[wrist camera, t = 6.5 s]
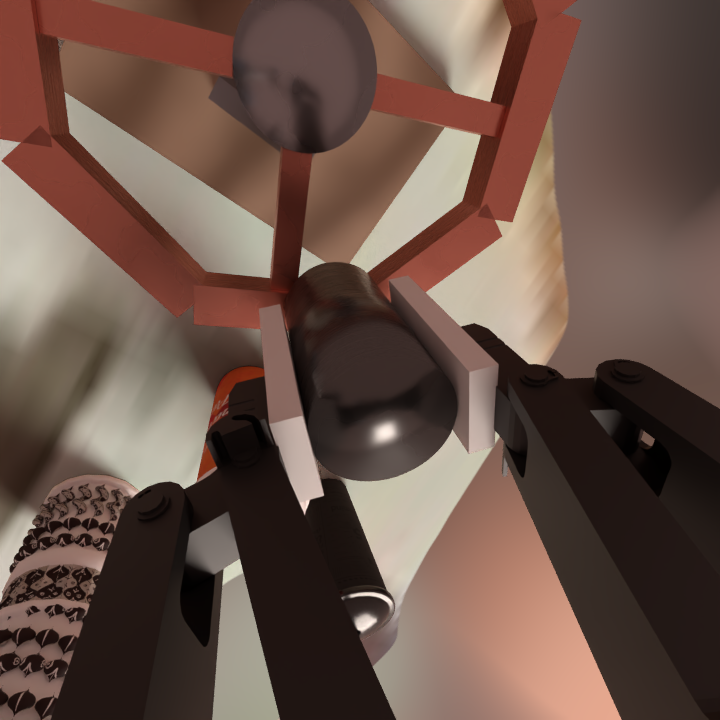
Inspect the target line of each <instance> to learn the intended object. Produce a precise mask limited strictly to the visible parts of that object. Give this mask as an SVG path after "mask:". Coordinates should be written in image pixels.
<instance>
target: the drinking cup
mask: <svg viewBox="0 0 720 720" xmlns="http://www.w3.org/2000/svg"><path fill="white" fill-rule="evenodd" d="M321 484H322V488H323V493H324V496H321V497H318V498H314V499H311V500H310V501H309V504H308V507H307V509H306V512H305V517H306V519H307V521H308V523H309V525H310V528H311V530H312V532H313V534H314V537H315V539H316V541H317V543H318V546H319V548H320V550H321V552H322V555H323V557H324V559H325V561H326V564H327V566H328V568H329V570H330V573H331V575H332V577H333V579H334V582H335V584H336V586H337V588H338V591H339V593H340V595H341V597H342V600H343V602H344V604H345V606H346V608H347V611H348V613H349V615H350V617H351V620H352V622H353V624H354V626H355V629H356V631H357V633H358V635H359V638H360V640H363V639H365V638H367V637H369V636H371V635H372V634H374V633H376V632H377V631H379V630H380V629H381V628H383V627H384V626H385V625H386V624H387V623H388V622H389V621H390V619H391V618H392V616H393V614H394V611H395V603H394V599H393V597H392V595H391V594H390V593H389V592H388V591H387V590H386V587H385V584H384V582H383V579H382V577H381V574H380V572H379V569H378V567H377V564H376V562H375V559H374V557H373V554H372V552H371V549H370V547H369V544H368V542H367V539H366V536H365V534H364V531H363V529H362V526H361V524H360V521H359V519H358V516H357V514H356V511H355V509H354V506H353V504H352V501H351V499H350V496H349V494H348V491H347V488H346V486H345V485H344V484H343V483H342V482H340V481H338V480H335V479H324V480H321Z"/></svg>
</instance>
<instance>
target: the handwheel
mask: <svg viewBox="0 0 720 720" xmlns="http://www.w3.org/2000/svg"><path fill="white" fill-rule="evenodd" d="M576 1H577V0H503V3H504V6H505V9H506V12H507V15H508V18H509V21H510V24H511V31H510V34H509V38H508V41H507V45H506V49H505V52H504V56H503V59H502V63H501V66H500V70H499V73H498V77H497V81H496V84H495V88H494V91H493V95H492V98H491V102H488V101H484V100H480V99H476V98H472V97H468V96H464V95H460V94H456V93H452V92H448V91H444V90H440V89H437V88H433V87H429V86H425V85H421V84H417V83H413V82H409V81H405V80H401V79H397V78H393V77H389V76H386V75H382V74H378V73H377V61H376V54H375V49H374V45H373V42H372V39H371V35H370V33H369V31H368V28H367V26H366V24H365V22H364V21H363V19H362V17H361V15H360V14H359V12H358V11H357V10H356V8H355V7H354V6H353V5H352V4H351V3H350V2H349V0H252V1H251V2H250V4H249V5H248V7H247V8H246V10H245V11H244V13H243V15H242V17H241V19H240V21H239V24H238V27H237V30H236V33H235V38H234V37H233V36H229V35H225V34H221V33H217V32H213V31H209V30H205V29H201V28H197V27H193V26H189V25H186V24H182V23H178V22H174V21H170V20H166V19H162V18H158V17H154V16H150V15H146V14H142V13H138V12H135V11H131V10H127V9H123V8H119V7H115V6H111V5H107V4H103V3H99V2H95V1H91V0H0V139H3V140H9V141H15V142H21V143H20V144H19V145H18V146H17V147H16V148H15V149H14V150H13V151H11V152H10V153H9V154H8V155H7V156H6V157H5V158H4V159H3V160H2V162H3V163H4V164H6V165H7V166H8V167H9V168H10V169H11V170H12V171H13V172H14V173H16V174H17V175H18V176H19V177H20V178H21V179H22V180H23V181H25V182H26V183H27V184H28V185H29V186H30V187H31V188H32V189H33V190H35V191H36V192H37V193H38V194H39V195H40V196H41V197H42V198H44V199H45V200H46V201H47V202H48V203H49V204H50V205H51V206H53V207H54V208H55V209H56V210H57V211H58V212H59V213H60V214H61V215H63V216H64V217H65V218H66V219H67V220H68V221H69V222H70V223H72V224H73V225H74V226H75V227H76V228H77V229H78V230H79V231H81V232H82V233H83V234H84V235H85V236H86V237H87V238H88V239H89V240H91V241H92V242H93V243H94V244H95V245H96V246H97V247H98V248H100V249H101V250H102V251H103V252H104V253H105V254H106V255H107V256H109V257H110V258H111V259H112V260H113V261H114V262H115V263H116V264H117V265H119V266H120V267H121V268H122V269H123V270H124V271H125V272H126V273H128V274H129V275H130V276H131V277H132V278H133V279H134V280H135V281H136V282H138V283H139V284H140V285H141V286H142V287H143V288H144V289H145V290H147V291H148V292H149V293H150V294H151V295H152V296H153V297H154V298H156V299H157V300H158V301H159V302H160V303H161V304H162V305H163V306H164V307H166V308H167V309H168V310H169V311H170V312H171V313H172V314H173V315H175V316H176V317H179V316H180V315H181V314H182V313H184V312H185V311H186V310H187V309H189V308H190V307H191V306H192V305H194V325H207V326H223V327H238V328H254V329H261V327H260V316H259V309H260V308H265V307H269V306H273V305H278V304H280V306H281V310H282V314H283V318H284V322H285V325H286V329H287V331H288V334H289V339H290V344H291V349H292V355H293V360H294V365H295V370H296V375H297V380H298V385H299V390H300V395H301V400H302V405H303V410H304V415H305V420H306V425H307V429H308V434H309V438H310V442H311V446H312V449H313V453H314V455H315V457H316V458H317V460H318V461H319V462H320V463H321V464H322V465H323V466H324V467H325V468H326V469H328V470H329V471H330V472H332V473H334V474H336V475H338V476H341V477H343V478H347V479H351V480H357V481H378V480H384V479H389V478H393V477H396V476H399V475H402V474H404V473H407V472H409V471H411V470H413V469H415V468H416V467H418V466H420V465H421V464H423V463H424V462H426V461H427V460H428V459H429V458H431V457H432V456H433V455H434V454H435V453H436V452H437V451H438V450H439V449H440V448H441V447H442V445H443V444H444V443H445V441H446V440H447V438H448V437H449V435H450V433H451V431H452V429H453V427H454V424H455V421H456V417H457V410H458V403H457V396H456V392H455V390H454V387H453V385H452V384H451V382H450V380H449V379H448V377H447V376H446V375H445V374H444V372H443V371H442V370H441V368H440V367H439V366H438V364H437V363H436V362H435V360H434V359H433V358H432V356H431V355H430V354H429V352H428V351H427V350H426V348H425V347H424V346H423V345H422V343H421V342H420V341H419V339H418V338H417V337H416V335H415V334H414V333H413V331H412V330H411V329H410V327H409V326H408V325H407V323H406V322H405V321H404V319H403V318H402V317H401V316H400V314H399V313H398V312H397V310H396V309H395V308H394V306H393V305H392V304H391V298H390V288H389V280H390V279H394V278H399V277H403V276H409V277H410V278H411V279H412V280H413V281H414V282H415V283H416V284H417V285H418V286H419V287H420V288H421V289H422V290H423V291H424V292H427V291H428V290H429V289H431V288H432V287H433V286H435V285H436V284H437V283H439V282H440V281H442V280H443V279H444V278H446V277H447V276H448V275H450V274H451V273H453V272H454V271H455V270H457V269H458V268H459V267H461V266H462V265H463V264H465V263H466V262H468V261H469V260H470V259H472V258H473V257H474V256H476V255H477V254H479V253H480V252H481V251H483V250H484V249H485V248H487V247H488V246H489V245H491V244H492V243H494V242H495V241H496V240H498V239H499V238H500V237H502V235H501V232H500V230H499V228H498V226H497V224H496V222H495V220H501V221H507V222H513V219H514V216H515V213H516V210H517V207H518V204H519V201H520V198H521V195H522V192H523V190H524V187H525V184H526V181H527V178H528V175H529V172H530V169H531V166H532V163H533V160H534V157H535V154H536V152H537V149H538V146H539V143H540V140H541V137H542V134H543V131H544V128H545V125H546V122H547V119H548V116H549V114H550V111H551V108H552V105H553V102H554V99H555V96H556V93H557V90H558V87H559V84H560V81H561V78H562V75H563V73H564V70H565V67H566V64H567V61H568V58H569V55H570V52H571V49H572V46H573V43H574V40H575V38H576V35H577V32H578V28H579V26H580V22H581V20H579V19H576V18H574V17H571V16H568V15H565V14H562V12H563V11H564V10H565V9H567V8H568V7H569V6H571V5H572V4H573V3H574V2H576ZM58 39H59V40H64V41H68V42H72V43H77V44H81V45H86V46H90V47H95V48H99V49H103V50H108V51H112V52H117V53H121V54H125V55H130V56H134V57H139V58H143V59H147V60H152V61H156V62H161V63H165V64H169V65H174V66H178V67H183V68H187V69H191V70H196V71H200V72H205V73H209V74H213V75H218V76H222V77H227V78H231V79H233V74H234V80H235V84H236V88H237V92H238V94H239V97H240V100H241V102H242V104H243V106H244V108H245V110H246V112H247V114H248V115H249V117H250V118H251V120H252V121H253V122H254V124H255V125H256V126H257V127H258V129H259V130H260V131H261V132H262V133H263V134H264V135H266V136H267V137H268V138H269V139H271V140H272V141H273V142H275V143H276V144H278V145H280V146H282V147H281V152H280V164H279V176H278V188H277V200H276V212H275V224H274V236H273V248H272V260H271V272H270V278H262V277H252V276H242V275H232V274H222V273H211V272H206V271H205V270H204V269H203V268H202V267H201V266H200V265H199V264H198V263H197V262H196V261H195V260H194V259H193V258H192V257H191V256H190V255H189V254H188V253H187V252H186V251H185V250H184V249H183V248H182V247H181V246H180V245H179V244H178V243H177V242H176V241H175V240H174V239H173V238H172V237H171V236H170V235H169V234H168V233H167V232H166V231H165V230H164V229H163V228H162V227H161V226H160V225H159V223H158V222H157V221H156V220H155V219H154V218H153V217H152V216H151V215H150V214H149V213H148V212H147V211H146V210H145V209H144V208H143V207H142V206H141V205H140V204H139V203H138V202H137V201H136V200H135V199H134V198H133V197H132V196H131V195H130V194H129V193H128V192H127V191H126V190H125V189H124V188H123V187H122V186H121V185H120V184H119V183H118V182H117V181H116V180H115V179H114V178H113V177H112V176H111V175H110V174H109V173H108V172H107V171H106V170H105V169H104V168H103V167H102V166H101V165H100V164H99V163H98V162H97V161H96V160H95V158H94V157H93V156H92V155H91V154H90V153H89V152H88V151H87V150H86V149H85V148H84V147H83V146H82V145H81V144H80V143H79V142H78V141H77V140H76V139H75V138H74V137H73V136H72V135H71V134H70V133H69V125H68V117H67V109H66V102H65V94H64V86H63V78H62V70H61V62H60V54H59V47H58ZM370 110H372V111H376V112H381V113H385V114H389V115H394V116H398V117H403V118H407V119H411V120H416V121H420V122H425V123H429V124H433V125H438V126H442V127H447V128H451V129H456V130H460V131H464V132H469V133H473V134H478V135H481V137H480V141H479V145H478V148H477V152H476V155H475V159H474V162H473V166H472V169H471V173H470V176H469V180H468V184H467V187H466V191H465V194H464V198H463V201H462V202H461V203H459V204H458V205H457V206H455V207H454V208H453V209H451V210H450V211H449V212H447V213H446V214H445V215H443V216H442V217H441V218H440V219H438V220H437V221H436V222H434V223H433V224H432V225H430V226H429V227H428V228H426V229H425V230H424V231H422V232H421V233H420V234H418V235H417V236H416V237H414V238H413V239H412V240H410V241H409V242H408V243H406V244H405V245H404V246H402V247H401V248H400V249H398V250H397V251H396V252H394V253H393V254H392V255H390V256H389V257H388V258H386V259H385V260H384V261H382V262H381V263H380V264H378V265H377V266H376V267H375V268H373V269H372V270H371V271H369V272H368V273H366V272H365V271H364V270H362V269H361V268H359V267H357V266H355V265H352V264H349V263H343V262H329V263H324V264H320V265H318V266H315V267H313V268H311V269H309V270H308V271H306V272H305V273H303V274H302V275H301V276H300V277H299V278H298V275H299V266H300V257H301V249H302V240H303V232H304V223H305V214H306V206H307V197H308V188H309V180H310V171H311V163H312V153H322V152H326V151H329V150H332V149H335V148H337V147H338V146H340V145H342V144H343V143H345V142H346V141H348V140H349V139H350V138H351V137H352V136H353V135H354V134H355V133H356V132H357V131H358V130H359V128H360V127H361V126H362V124H363V123H364V121H365V120H366V118H367V116H368V113H369V111H370Z"/></svg>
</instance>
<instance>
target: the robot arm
mask: <svg viewBox="0 0 720 720" xmlns="http://www.w3.org/2000/svg"><path fill="white" fill-rule="evenodd" d="M389 288H390V298H391V304H392V305H393V306H394V308H395V309H396V310H397V312H398V313H399V314H400V316H401V317H402V318H403V319H404V321H405V322H406V323H407V325H408V326H409V327H410V329H411V330H412V331H413V333H414V334H415V335H416V337H417V338H418V339H419V341H420V342H421V343H422V345H423V346H424V347H425V348H426V350H427V351H428V352H429V354H430V355H431V356H432V358H433V359H434V360H435V362H436V363H437V364H438V366H439V367H440V368H441V370H442V371H443V372H444V374H445V375H446V376H447V377H448V379H449V380H450V382H451V384H452V385H453V387H454V390H455V392H456V396H457V403H458V410H457V417H456V421H455V424H454V427H453V431H454V432H455V434H456V435H457V437H458V438H459V440H460V441H461V443H462V444H463V446H464V447H465V449H466V450H467V452H468V453H469V454H470V453H474V452H477V451H481V450H484V449H488V448H491V447H494V445H495V431H496V432H497V433H498V434H499V436H500V437H501V438H502V439H503V441H504V445H503V460H502V474H503V476H507V468H508V466H509V468H510V471H511V473H512V475H513V477H514V480H515V482H516V484H517V486H518V489H519V491H520V493H521V495H522V498H523V500H524V502H525V504H526V507H527V509H528V511H529V513H530V515H531V518H532V520H533V522H534V524H535V526H536V529H537V531H538V533H539V536H540V538H541V540H542V542H543V545H544V547H545V549H546V551H547V554H548V556H549V558H550V560H551V563H552V565H553V567H554V569H555V571H556V574H557V576H558V578H559V580H560V583H561V585H562V587H563V589H564V592H565V594H566V596H567V598H568V601H569V602H570V605H571V607H572V610H573V612H574V614H575V616H576V618H577V621H578V623H579V625H580V627H581V630H582V632H583V634H584V636H585V639H586V641H587V643H588V645H589V648H590V650H591V652H592V654H593V657H594V659H595V661H596V663H597V665H598V668H599V670H600V672H601V674H602V677H603V679H604V681H605V683H606V686H607V688H608V690H609V692H610V695H611V697H612V699H613V701H614V704H615V706H616V708H617V710H618V712H619V715H620V717H621V719H622V720H720V409H719V408H717V407H716V406H714V405H712V404H711V403H709V402H707V401H706V400H704V399H702V398H700V397H699V396H697V395H696V394H694V393H692V392H690V391H689V390H687V389H685V388H684V387H682V386H680V385H679V384H677V383H675V382H674V381H672V380H670V379H669V378H667V377H665V376H663V375H662V374H660V373H659V372H657V371H655V370H653V369H652V368H650V367H648V366H646V365H644V364H641V363H639V362H634V361H630V360H624V359H623V360H622V359H615V360H608V361H605V362H603V363H601V364H599V365H598V367H597V368H596V372H595V377H594V378H573V379H565V378H564V377H563V376H562V375H561V374H560V373H559V372H558V371H557V370H555V369H552V368H550V367H548V366H543V365H538V364H528V363H527V362H526V361H524V360H523V359H522V358H521V357H520V356H519V355H518V354H516V353H515V352H514V351H513V350H512V349H511V348H510V347H508V346H507V345H505V343H504V342H503V341H502V340H500V339H499V338H497V336H496V335H495V334H494V333H493V332H491V331H490V330H489V329H488V328H485V327H483V326H480V325H477V324H475V323H474V324H470V325H466V326H462V327H460V326H459V325H458V324H457V323H456V322H455V321H454V320H453V319H452V318H451V317H450V316H449V315H448V314H447V313H446V312H445V311H444V310H443V309H442V308H441V307H440V306H439V305H438V304H437V303H436V302H435V301H434V300H433V299H432V298H430V297H429V296H428V295H427V294H426V293H425V292H424V291H423V290H422V289H421V288H420V287H419V286H418V285H417V284H416V283H415V282H414V281H413V280H412V279H411V278H410V277H409V276H403V277H399V278H394V279H390V280H389ZM259 316H260V327H261V338H262V350H263V361H264V372H265V376H262V377H258V378H254V379H250V380H246V381H242V382H238V383H236V384H235V385H234V387H233V389H232V390H231V392H230V393H229V400H228V406H229V408H228V415H227V416H225V417H223V418H221V419H219V420H218V421H217V422H216V423H214V424H213V425H212V426H211V427H210V429H209V431H208V432H207V434H206V441H205V442H206V444H207V446H208V449H209V451H210V453H211V455H212V458H213V460H214V462H215V464H216V466H217V469H216V470H215V471H214V472H213V473H211V474H210V475H209V476H207V477H206V478H204V479H203V480H201V481H199V482H197V483H195V484H193V485H191V486H190V487H188V488H186V489H183V488H182V487H181V486H180V485H179V484H177V483H173V482H162V483H157V484H154V485H152V486H149V487H147V488H145V489H144V490H142V491H140V492H139V493H137V494H136V495H135V496H134V497H133V498H132V499H131V500H130V501H129V502H128V503H127V504H126V505H125V507H124V509H123V510H122V512H121V514H120V517H119V519H118V522H117V525H116V528H115V531H114V534H113V537H112V540H111V543H110V546H109V549H108V552H107V555H106V558H105V561H104V564H103V567H102V569H101V572H100V575H99V578H98V581H97V584H96V587H95V590H94V593H93V596H92V599H91V602H90V605H89V608H88V611H87V614H86V617H85V619H84V622H83V625H82V628H81V631H80V634H79V637H78V640H77V643H76V646H75V649H74V652H73V655H72V658H71V661H70V664H69V667H68V669H67V672H66V675H65V678H64V681H63V684H62V687H61V690H60V693H59V696H58V699H57V702H56V705H55V708H54V711H53V714H52V717H51V719H50V720H212V714H213V701H214V687H215V674H216V660H217V647H218V634H219V621H220V608H221V594H222V581H223V569H224V568H225V567H227V566H228V565H230V564H232V563H233V562H235V561H237V560H238V559H240V561H241V565H242V569H243V573H244V576H245V581H246V584H247V589H248V592H249V597H250V601H251V604H252V609H253V612H254V617H255V620H256V624H257V629H258V633H259V637H260V641H261V645H262V648H263V653H264V656H265V661H266V665H267V668H268V672H269V677H270V680H271V684H272V689H273V693H274V697H275V701H276V705H277V708H278V713H279V717H280V720H396V718H395V716H394V714H393V712H392V709H391V707H390V705H389V703H388V700H387V699H386V696H385V694H384V691H383V689H382V687H381V685H380V683H379V680H378V678H377V676H376V674H375V671H374V669H373V667H372V665H371V662H370V660H369V658H368V656H367V653H366V651H365V649H364V647H363V644H362V642H361V640H360V638H359V635H358V633H357V631H356V629H355V626H354V624H353V622H352V620H351V617H350V615H349V613H348V611H347V608H346V606H345V604H344V602H343V600H342V597H341V595H340V593H339V591H338V588H337V586H336V584H335V582H334V579H333V577H332V575H331V573H330V570H329V568H328V566H327V564H326V561H325V559H324V557H323V555H322V552H321V550H320V548H319V546H318V543H317V541H316V539H315V537H314V534H313V532H312V530H311V528H310V525H309V523H308V521H307V519H306V517H305V514H304V512H303V510H302V508H301V505H300V502H304V501H307V500H311V499H314V498H318V497H321V496H324V493H323V488H322V484H321V479H320V474H319V470H318V465H317V460H316V457H315V455H314V453H313V449H312V446H311V442H310V438H309V434H308V429H307V425H306V420H305V415H304V410H303V405H302V400H301V395H300V390H299V385H298V380H297V375H296V370H295V365H294V360H293V355H292V349H291V345H290V341H289V337H288V333H287V329H286V325H285V322H284V318H283V314H282V310H281V306H280V304H278V305H273V306H269V307H265V308H260V309H259ZM643 431H645V432H646V433H648V434H649V435H650V436H652V437H653V438H654V439H655V440H654V444H653V446H649V445H647V444H646V443H644V442H643V441H642V440H641V438H642V435H643Z"/></svg>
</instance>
